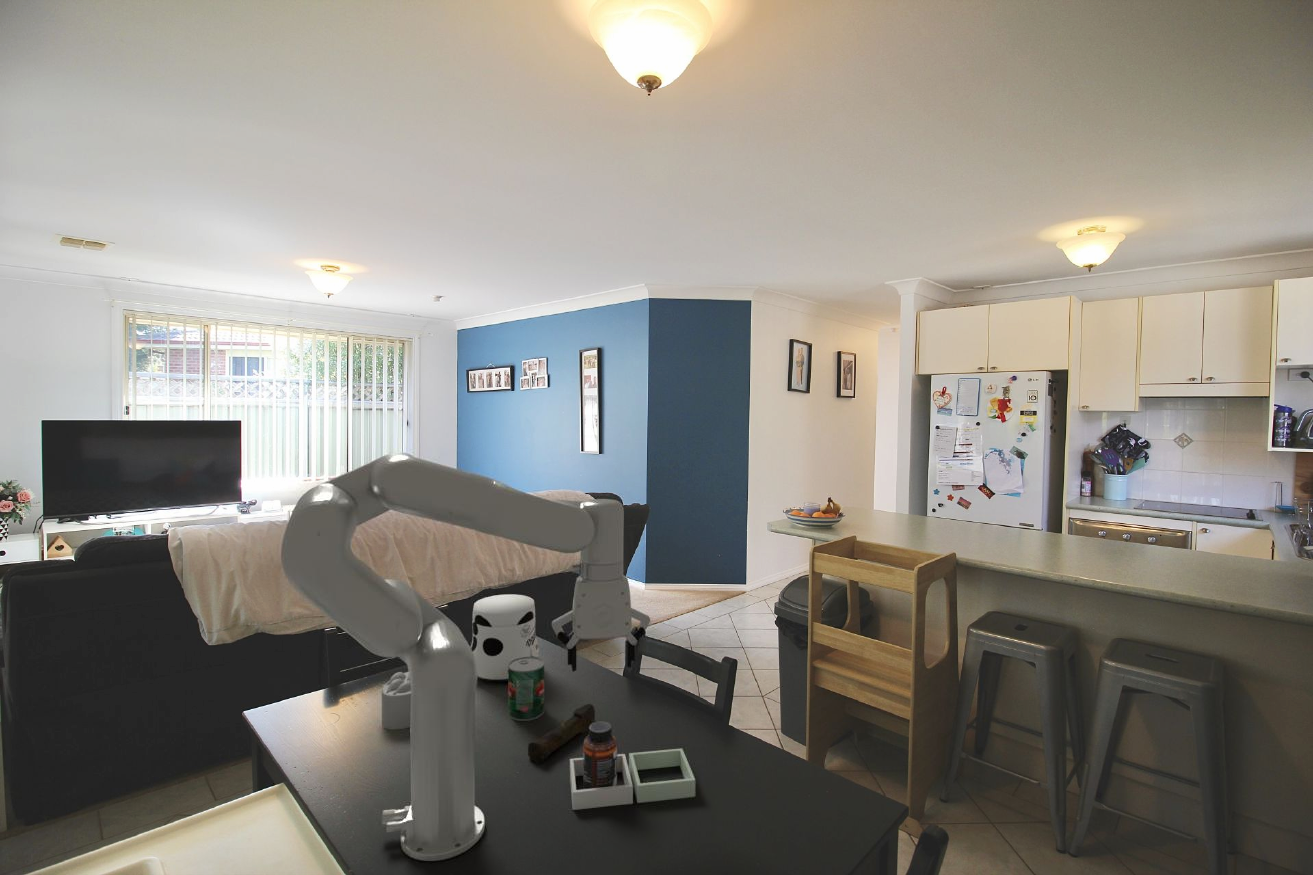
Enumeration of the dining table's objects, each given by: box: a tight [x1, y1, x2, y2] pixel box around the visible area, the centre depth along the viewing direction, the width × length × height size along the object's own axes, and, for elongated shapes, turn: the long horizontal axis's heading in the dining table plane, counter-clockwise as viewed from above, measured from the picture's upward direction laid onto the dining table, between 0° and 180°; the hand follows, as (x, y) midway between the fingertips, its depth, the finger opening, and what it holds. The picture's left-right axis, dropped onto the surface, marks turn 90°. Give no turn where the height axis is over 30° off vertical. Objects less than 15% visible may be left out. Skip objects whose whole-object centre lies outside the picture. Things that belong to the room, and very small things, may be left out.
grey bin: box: [569, 753, 634, 811], centre depth 110 cm, size 10×10×3 cm
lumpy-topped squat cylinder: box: [381, 671, 411, 731], centre depth 136 cm, size 10×13×9 cm
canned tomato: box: [507, 657, 545, 722], centre depth 137 cm, size 8×8×11 cm
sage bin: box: [628, 747, 696, 804], centre depth 112 cm, size 10×10×3 cm
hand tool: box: [527, 703, 596, 764], centre depth 126 cm, size 19×4×5 cm, turn 146°
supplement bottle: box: [582, 720, 618, 789], centre depth 110 cm, size 6×6×11 cm
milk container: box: [470, 593, 540, 683], centre depth 157 cm, size 17×17×18 cm
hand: (601, 666), depth 109 cm, fingers open, 9 cm apart
